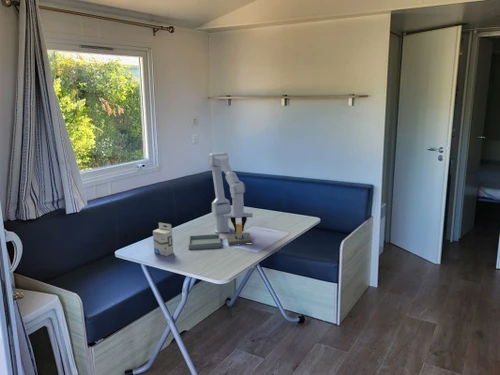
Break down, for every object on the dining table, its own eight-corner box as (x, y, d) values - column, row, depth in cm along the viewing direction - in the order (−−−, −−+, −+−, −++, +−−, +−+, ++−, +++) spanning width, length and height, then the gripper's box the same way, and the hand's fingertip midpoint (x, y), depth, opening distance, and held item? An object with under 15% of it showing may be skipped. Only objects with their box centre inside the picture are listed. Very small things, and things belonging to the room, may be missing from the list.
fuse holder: (227, 237, 235) (227, 234, 235) (249, 236, 237) (249, 232, 236) (228, 245, 224) (228, 241, 223) (252, 244, 225) (251, 240, 224)
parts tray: (189, 240, 233) (189, 235, 233) (219, 238, 235) (219, 233, 234) (188, 249, 220) (188, 244, 219) (220, 247, 221) (220, 242, 221)
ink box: (153, 253, 216) (151, 225, 213) (160, 250, 220) (158, 222, 217) (167, 256, 212) (165, 227, 208) (174, 253, 216) (172, 224, 213)
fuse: (236, 236, 232) (235, 223, 230) (241, 236, 232) (241, 223, 230) (236, 238, 228) (236, 226, 226) (242, 238, 228) (242, 225, 226)
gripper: (224, 208, 221) (225, 234, 224) (253, 207, 223) (253, 232, 226) (223, 205, 228) (224, 230, 231) (251, 203, 230) (252, 228, 233)
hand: (239, 231), depth 229 cm, fingers closed on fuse, 3 cm apart
